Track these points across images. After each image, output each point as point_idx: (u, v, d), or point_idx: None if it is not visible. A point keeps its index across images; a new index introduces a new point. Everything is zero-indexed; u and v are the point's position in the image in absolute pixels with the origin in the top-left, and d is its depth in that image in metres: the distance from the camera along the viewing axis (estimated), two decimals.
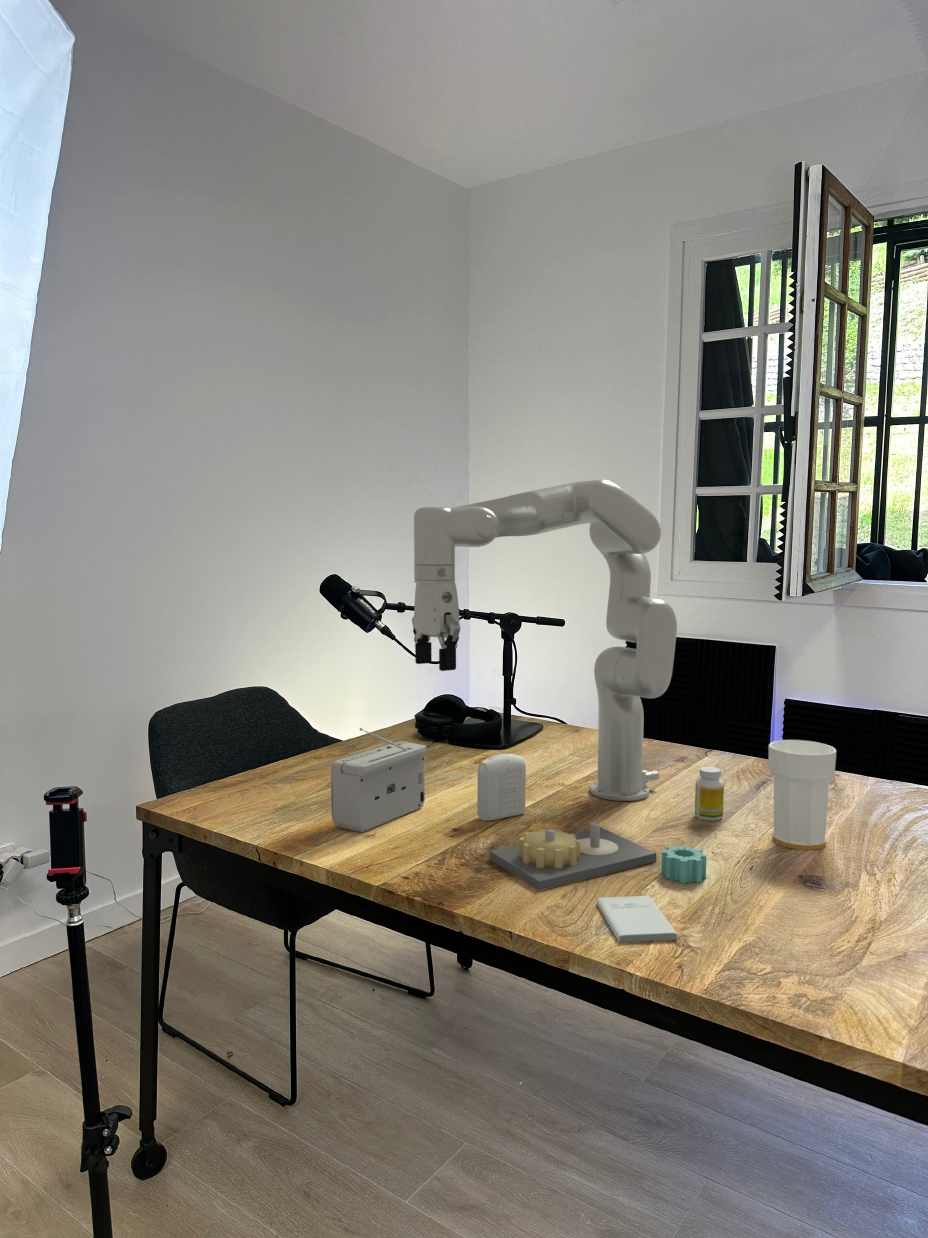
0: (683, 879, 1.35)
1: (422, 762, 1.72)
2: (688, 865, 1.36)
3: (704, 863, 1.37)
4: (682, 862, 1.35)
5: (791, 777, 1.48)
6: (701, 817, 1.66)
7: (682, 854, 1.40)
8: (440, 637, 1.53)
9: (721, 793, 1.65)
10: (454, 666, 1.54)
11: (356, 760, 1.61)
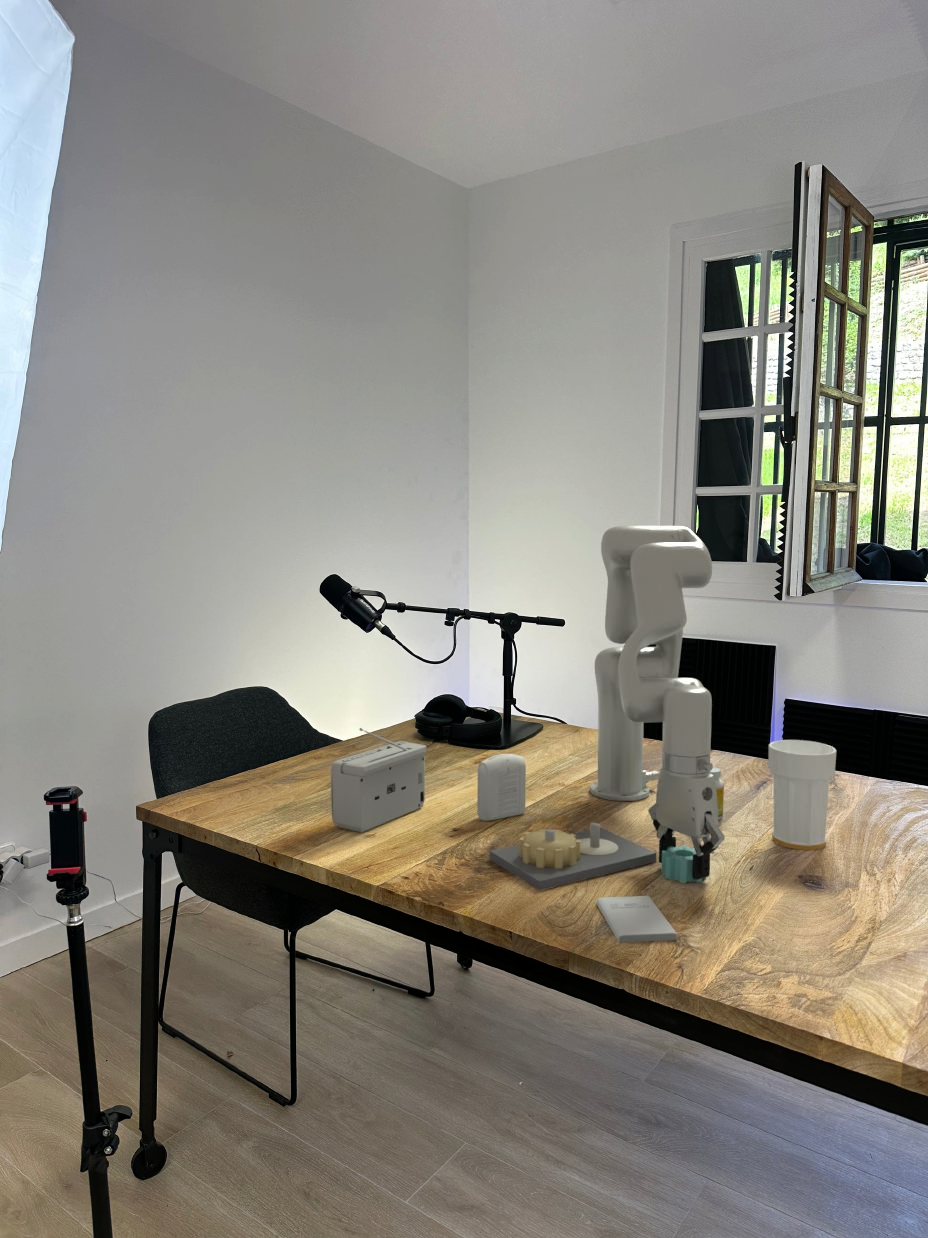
0: (683, 879, 1.35)
1: (422, 762, 1.72)
2: (688, 865, 1.36)
3: None
4: (682, 862, 1.35)
5: (791, 777, 1.48)
6: None
7: (682, 854, 1.40)
8: (696, 841, 1.34)
9: (721, 793, 1.65)
10: (708, 872, 1.36)
11: (356, 760, 1.61)
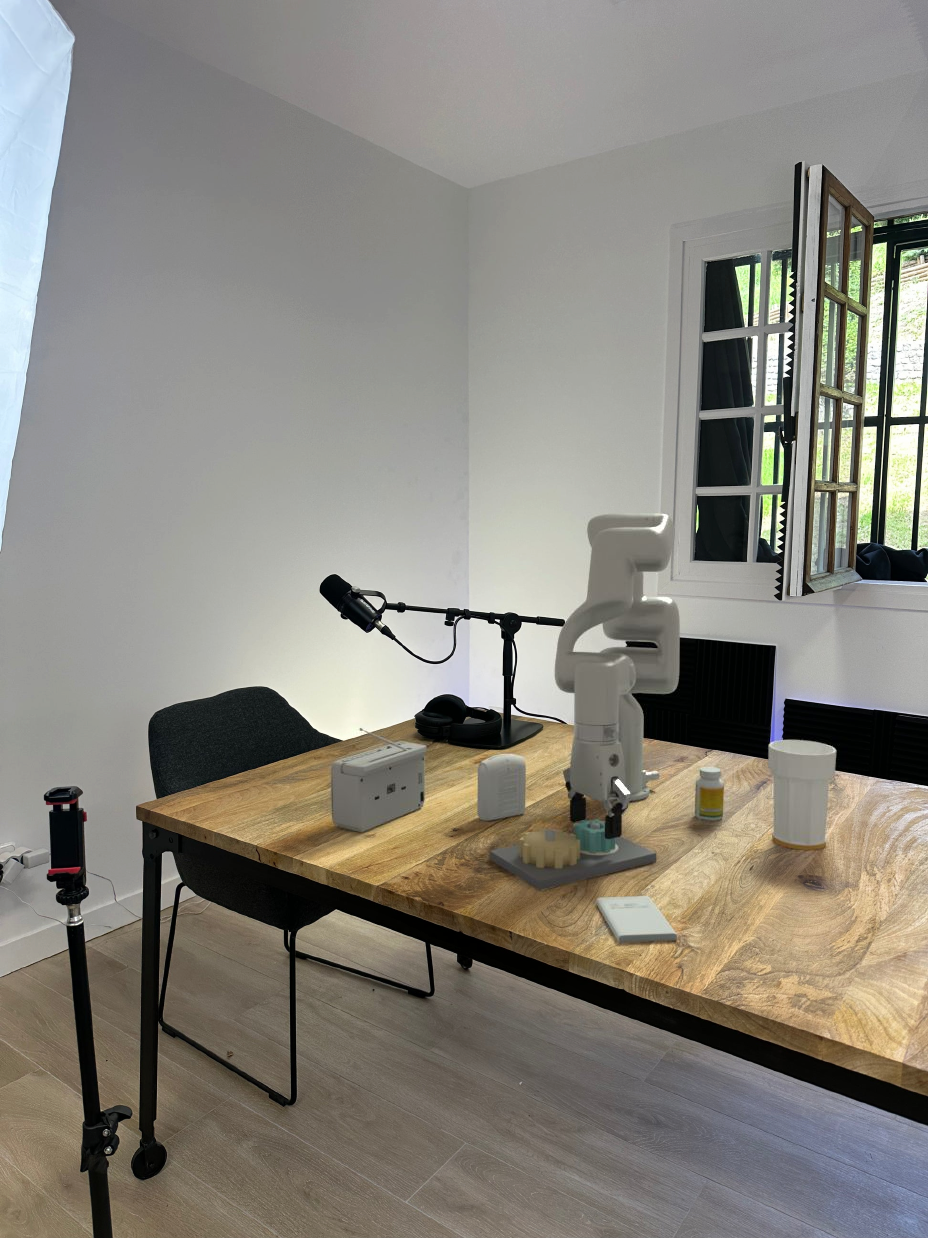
0: (592, 850, 1.44)
1: (422, 762, 1.72)
2: (597, 837, 1.44)
3: None
4: (591, 834, 1.44)
5: (791, 777, 1.48)
6: (701, 817, 1.66)
7: None
8: (606, 803, 1.42)
9: (721, 793, 1.65)
10: (620, 833, 1.43)
11: (356, 760, 1.61)
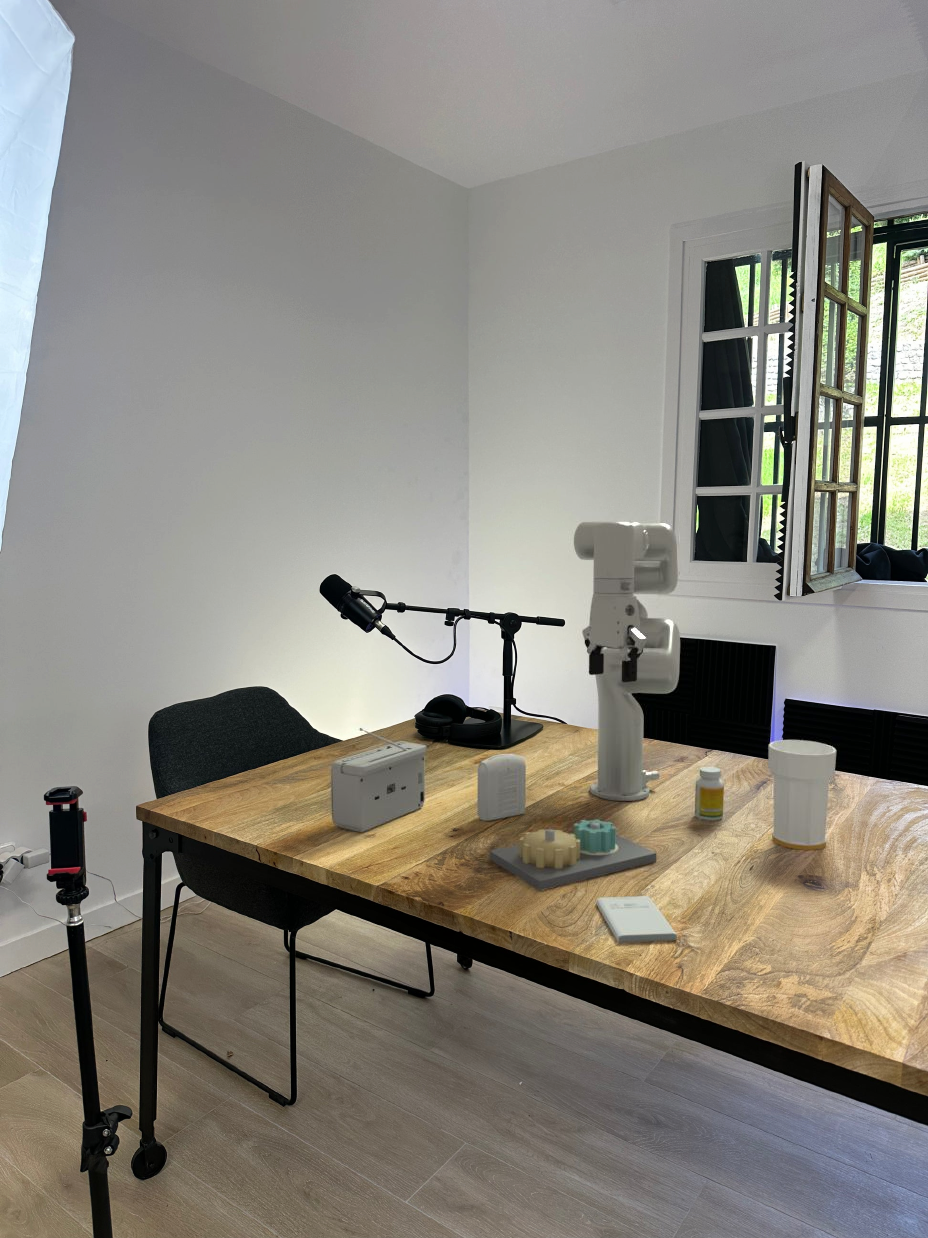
0: (592, 850, 1.44)
1: (422, 762, 1.72)
2: (597, 837, 1.44)
3: (613, 835, 1.46)
4: (591, 834, 1.44)
5: (791, 777, 1.48)
6: (701, 817, 1.66)
7: None
8: (623, 649, 1.56)
9: (721, 793, 1.65)
10: (635, 677, 1.58)
11: (356, 760, 1.61)
